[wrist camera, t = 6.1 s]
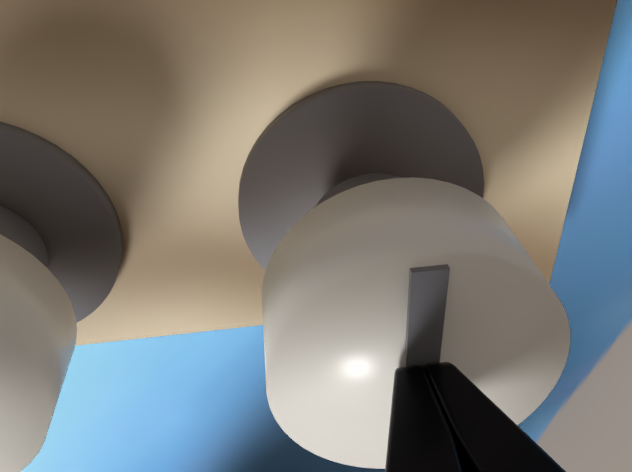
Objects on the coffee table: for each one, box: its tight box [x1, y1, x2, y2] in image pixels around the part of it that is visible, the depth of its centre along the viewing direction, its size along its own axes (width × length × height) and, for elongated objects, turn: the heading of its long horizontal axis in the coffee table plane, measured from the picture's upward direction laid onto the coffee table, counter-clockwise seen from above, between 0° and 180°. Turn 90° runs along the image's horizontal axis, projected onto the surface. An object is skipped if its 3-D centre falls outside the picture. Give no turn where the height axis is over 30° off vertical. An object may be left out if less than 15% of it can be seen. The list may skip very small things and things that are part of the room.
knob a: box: [262, 173, 570, 469], centre depth 10 cm, size 5×5×4 cm
